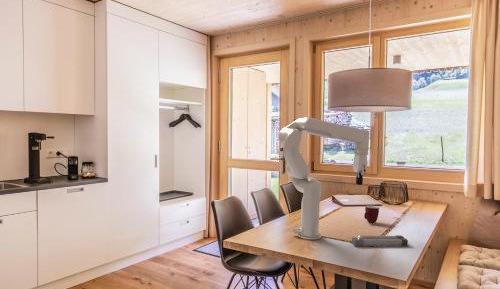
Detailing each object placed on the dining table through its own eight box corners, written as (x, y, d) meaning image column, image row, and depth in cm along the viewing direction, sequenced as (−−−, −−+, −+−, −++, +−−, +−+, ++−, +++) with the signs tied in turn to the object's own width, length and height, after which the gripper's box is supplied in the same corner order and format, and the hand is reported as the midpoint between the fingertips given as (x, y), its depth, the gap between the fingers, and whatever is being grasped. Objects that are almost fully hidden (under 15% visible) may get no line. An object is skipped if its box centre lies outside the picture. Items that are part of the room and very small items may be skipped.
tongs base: (354, 246, 171) (355, 238, 171) (351, 243, 176) (351, 235, 176) (408, 246, 172) (408, 238, 172) (403, 243, 177) (403, 235, 177)
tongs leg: (362, 243, 176) (362, 237, 176) (360, 241, 179) (360, 235, 179) (403, 243, 177) (403, 237, 177) (400, 241, 180) (401, 235, 180)
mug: (371, 226, 208) (372, 209, 207) (359, 223, 214) (360, 207, 213) (380, 223, 215) (381, 207, 214) (369, 220, 221) (369, 204, 220)
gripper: (350, 150, 201) (348, 182, 201) (358, 152, 186) (356, 186, 187) (363, 151, 201) (361, 182, 202) (372, 153, 186) (370, 187, 187)
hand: (359, 184), depth 194 cm, fingers closed
